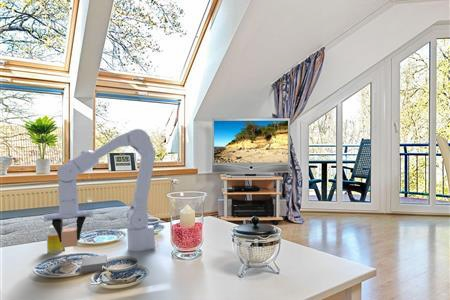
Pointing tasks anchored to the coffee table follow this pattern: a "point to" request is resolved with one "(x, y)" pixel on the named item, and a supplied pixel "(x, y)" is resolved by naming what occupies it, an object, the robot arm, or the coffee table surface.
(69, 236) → the terracotta block
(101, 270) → the walnut slab
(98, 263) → the gray slab
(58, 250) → the supplement bottle
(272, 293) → the coffee table surface
